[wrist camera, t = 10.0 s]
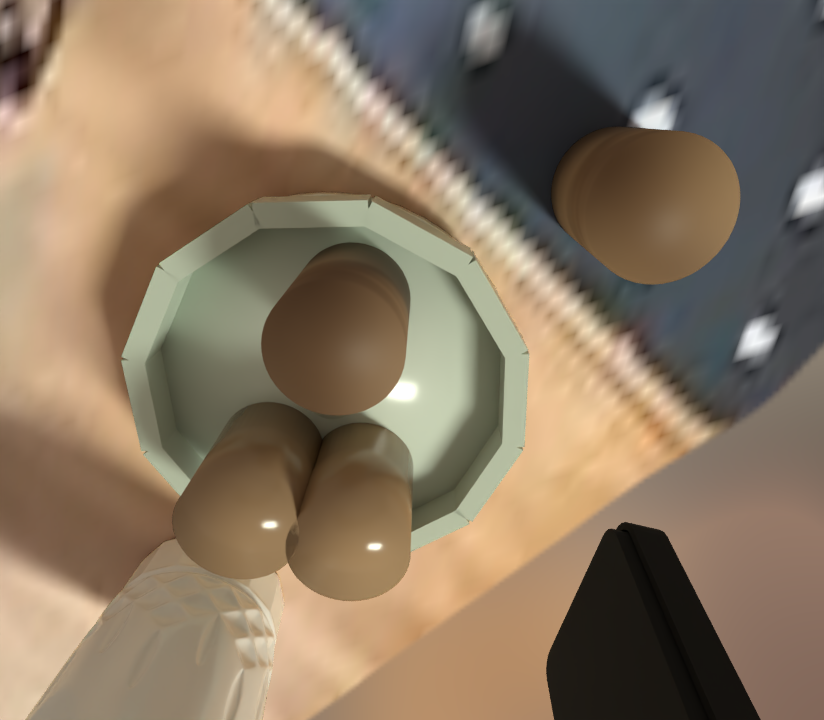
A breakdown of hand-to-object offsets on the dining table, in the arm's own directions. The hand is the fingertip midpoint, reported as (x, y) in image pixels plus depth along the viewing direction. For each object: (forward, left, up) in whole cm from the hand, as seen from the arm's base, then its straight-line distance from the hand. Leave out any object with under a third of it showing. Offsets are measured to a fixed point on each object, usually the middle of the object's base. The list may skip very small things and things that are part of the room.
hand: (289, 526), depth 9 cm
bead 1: (+1, 0, -13) cm, 13 cm away
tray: (+3, +3, -14) cm, 15 cm away
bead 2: (-9, +2, -14) cm, 17 cm away
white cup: (+14, +9, -14) cm, 22 cm away
